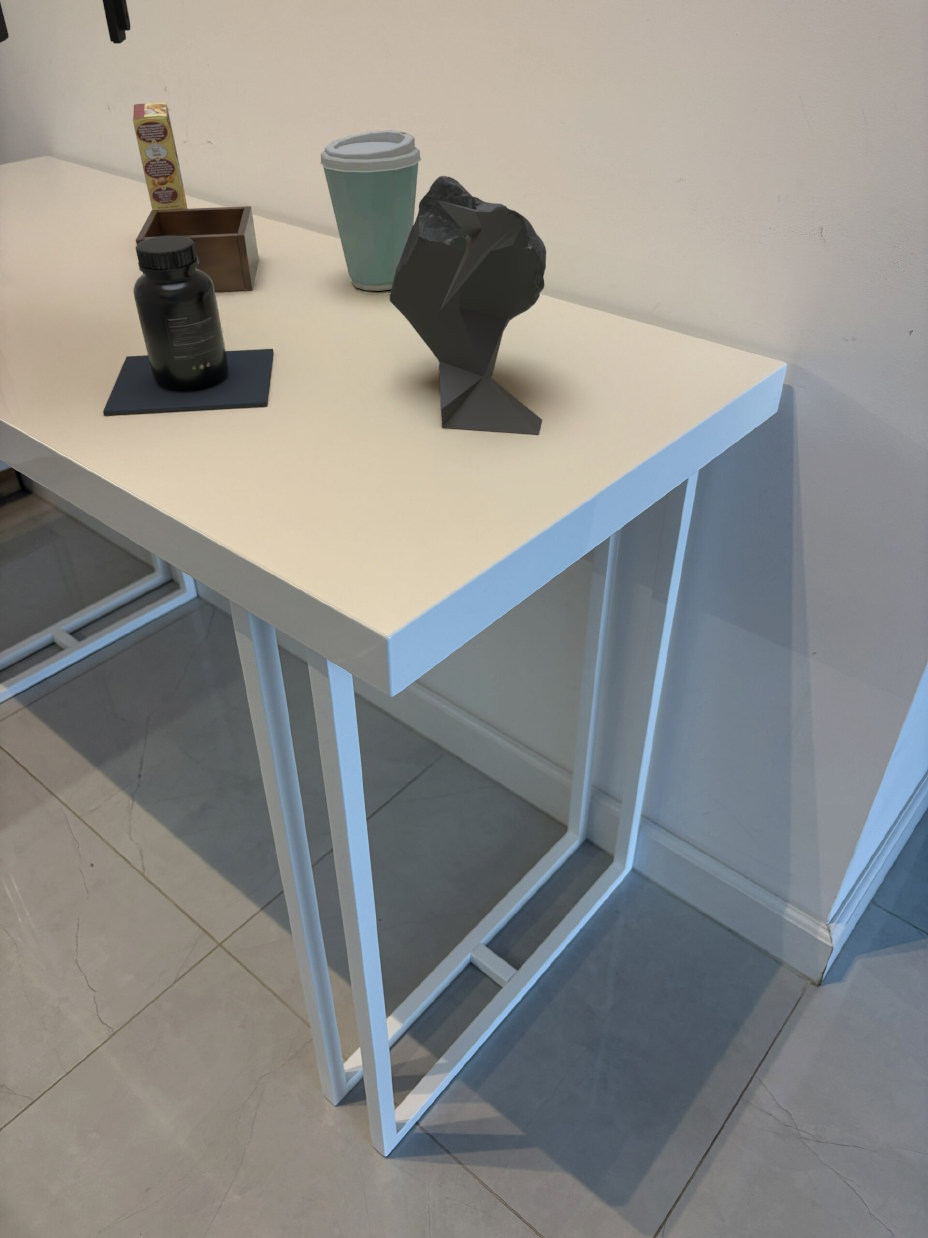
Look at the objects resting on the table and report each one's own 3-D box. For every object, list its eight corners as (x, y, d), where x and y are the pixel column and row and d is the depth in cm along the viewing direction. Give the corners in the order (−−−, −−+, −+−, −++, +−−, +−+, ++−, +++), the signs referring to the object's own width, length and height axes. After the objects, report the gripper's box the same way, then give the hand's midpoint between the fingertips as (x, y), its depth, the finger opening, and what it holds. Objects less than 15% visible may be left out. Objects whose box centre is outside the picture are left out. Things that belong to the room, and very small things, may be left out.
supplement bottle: (142, 374, 87) (111, 240, 79) (211, 356, 90) (187, 225, 82) (170, 400, 82) (139, 261, 75) (242, 380, 85) (219, 245, 78)
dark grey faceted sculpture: (556, 360, 89) (567, 154, 78) (538, 434, 77) (549, 204, 66) (410, 351, 91) (400, 149, 80) (371, 422, 79) (354, 196, 68)
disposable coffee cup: (358, 304, 101) (346, 153, 92) (315, 277, 108) (300, 134, 99) (442, 285, 106) (438, 139, 96) (395, 260, 113) (388, 122, 103)
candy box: (195, 252, 116) (169, 114, 107) (159, 255, 115) (131, 116, 106) (192, 232, 123) (168, 100, 113) (159, 235, 122) (132, 102, 112)
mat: (103, 415, 81) (102, 411, 81) (127, 360, 90) (126, 355, 90) (267, 406, 82) (266, 401, 82) (273, 352, 91) (273, 348, 91)
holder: (147, 294, 104) (135, 239, 101) (162, 261, 113) (151, 209, 110) (252, 290, 105) (244, 234, 102) (258, 257, 114) (251, 205, 111)
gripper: (-151, -245, 64) (-64, 48, 74) (110, -239, 65) (158, 47, 76) (-109, -235, 69) (-34, 35, 80) (130, -230, 71) (172, 34, 81)
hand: (59, 41), depth 78 cm, fingers open, 9 cm apart
